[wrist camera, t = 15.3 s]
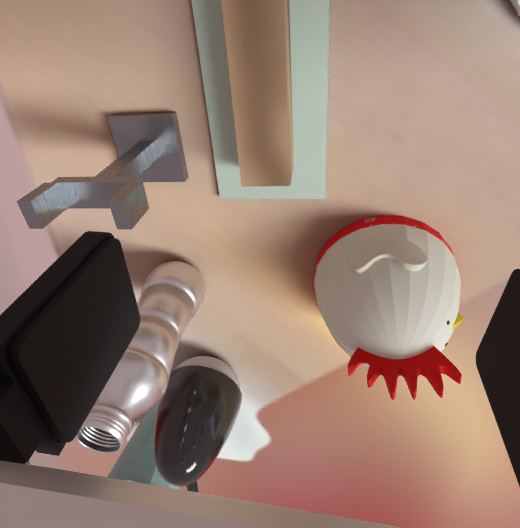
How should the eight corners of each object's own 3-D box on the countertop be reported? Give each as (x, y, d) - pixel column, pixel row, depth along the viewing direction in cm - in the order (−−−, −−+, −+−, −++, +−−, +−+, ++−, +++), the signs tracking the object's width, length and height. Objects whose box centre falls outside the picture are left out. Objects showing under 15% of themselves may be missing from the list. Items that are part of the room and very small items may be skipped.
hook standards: (109, -307, 21) (-122, -618, 10) (195, 177, 37) (139, 255, 26) (-9, -280, 23) (-327, -533, 12) (123, 178, 38) (41, 253, 27)
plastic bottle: (142, 268, 45) (36, 426, 29) (185, 243, 42) (93, 403, 26) (179, 306, 47) (100, 470, 31) (221, 285, 44) (159, 454, 28)
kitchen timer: (448, 321, 43) (495, 452, 31) (321, 325, 46) (319, 446, 34) (459, 207, 35) (528, 321, 23) (307, 222, 38) (297, 330, 26)
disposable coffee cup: (198, 394, 57) (163, 504, 45) (209, 436, 63) (180, 542, 51) (130, 389, 59) (79, 493, 47) (147, 430, 65) (105, 531, 53)
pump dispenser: (189, 395, 58) (151, 505, 45) (163, 346, 52) (111, 456, 40) (255, 393, 55) (234, 509, 43) (234, 341, 49) (203, 457, 37)
